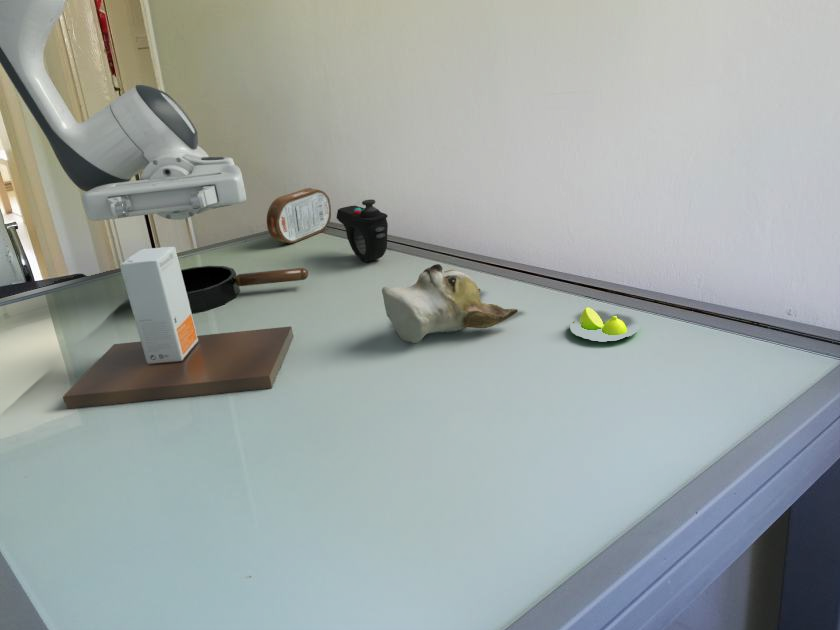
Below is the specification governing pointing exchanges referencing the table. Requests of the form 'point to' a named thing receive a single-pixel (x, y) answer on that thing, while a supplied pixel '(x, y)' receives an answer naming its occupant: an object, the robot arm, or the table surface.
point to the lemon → (594, 322)
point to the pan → (228, 284)
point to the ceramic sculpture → (439, 305)
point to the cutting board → (184, 369)
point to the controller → (365, 230)
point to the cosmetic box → (159, 304)
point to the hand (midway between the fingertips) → (157, 206)
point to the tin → (298, 215)
